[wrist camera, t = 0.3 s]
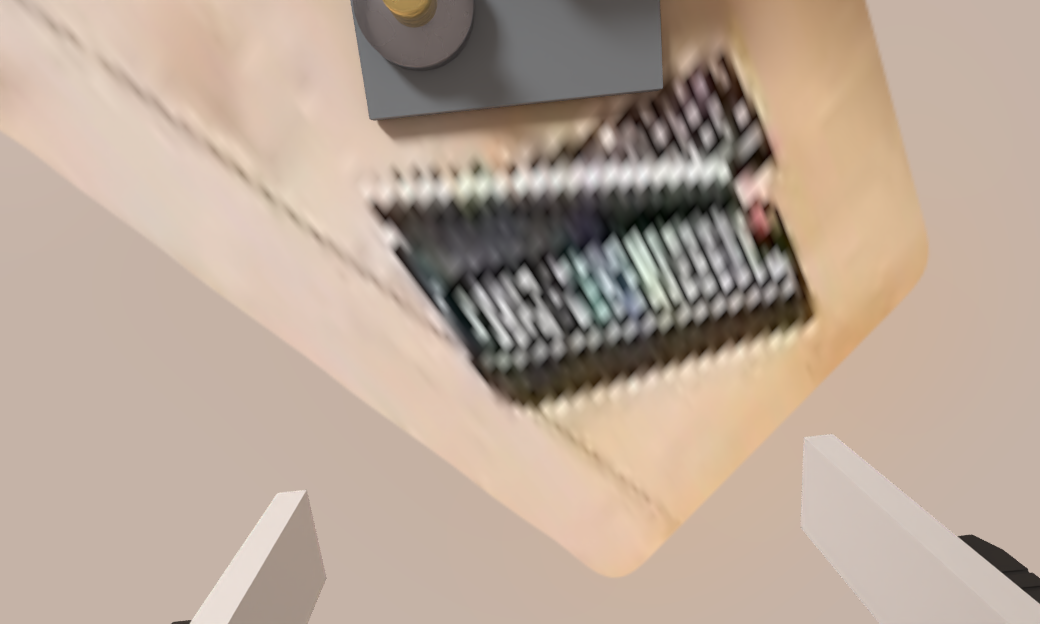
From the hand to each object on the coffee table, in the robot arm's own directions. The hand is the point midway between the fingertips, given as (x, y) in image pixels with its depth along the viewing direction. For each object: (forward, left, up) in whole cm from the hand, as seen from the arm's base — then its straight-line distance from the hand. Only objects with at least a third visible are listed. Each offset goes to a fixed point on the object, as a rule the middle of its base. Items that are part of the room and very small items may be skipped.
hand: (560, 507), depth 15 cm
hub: (-18, -5, -26) cm, 32 cm away
